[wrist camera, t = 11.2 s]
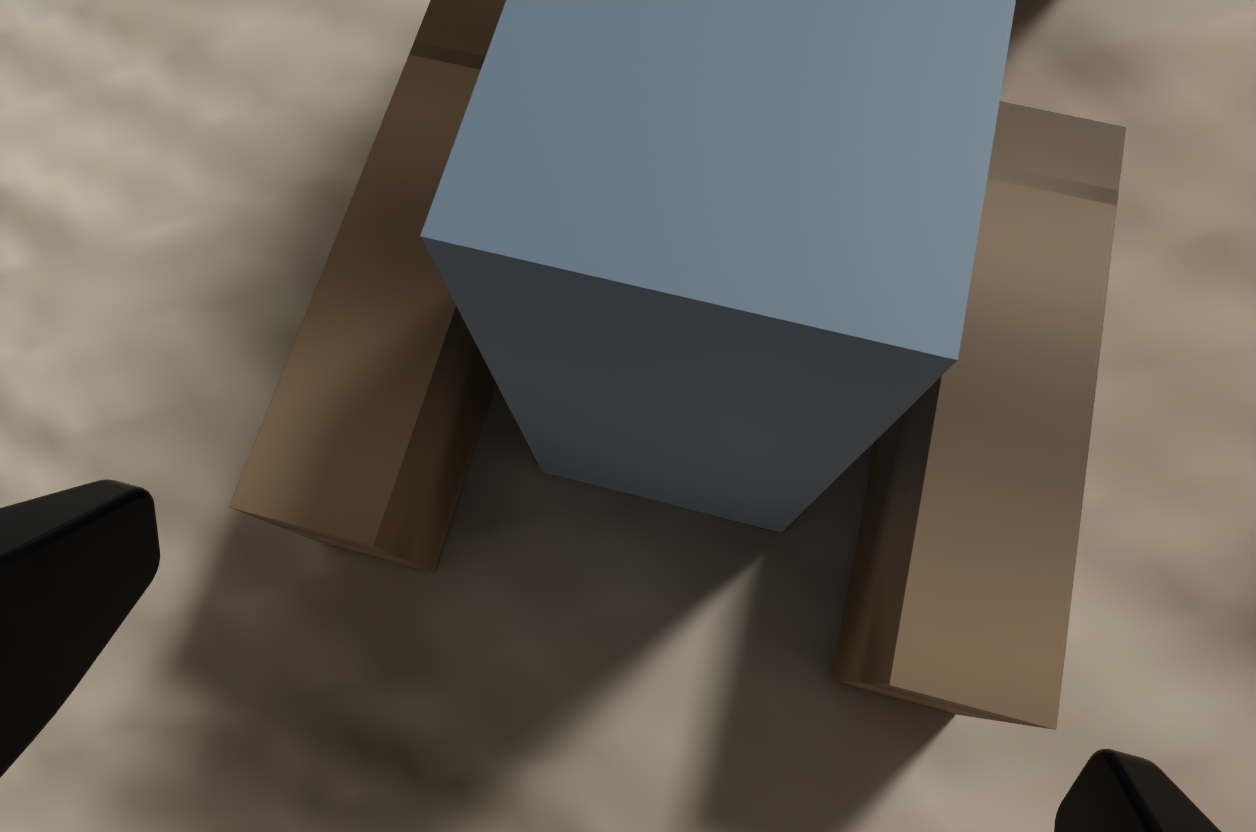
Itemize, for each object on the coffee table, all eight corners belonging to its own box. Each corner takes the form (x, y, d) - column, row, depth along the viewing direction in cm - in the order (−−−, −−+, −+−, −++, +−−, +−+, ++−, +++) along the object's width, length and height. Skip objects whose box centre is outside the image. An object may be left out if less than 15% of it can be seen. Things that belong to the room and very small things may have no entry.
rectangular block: (781, 532, 17) (957, 360, 7) (542, 472, 18) (420, 235, 8) (819, 351, 18) (1016, -3, 9) (593, 299, 19) (541, -94, 9)
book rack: (957, 714, 16) (1056, 729, 12) (321, 542, 17) (228, 507, 13) (1027, 237, 19) (1126, 127, 15) (476, 116, 20) (436, -15, 16)
